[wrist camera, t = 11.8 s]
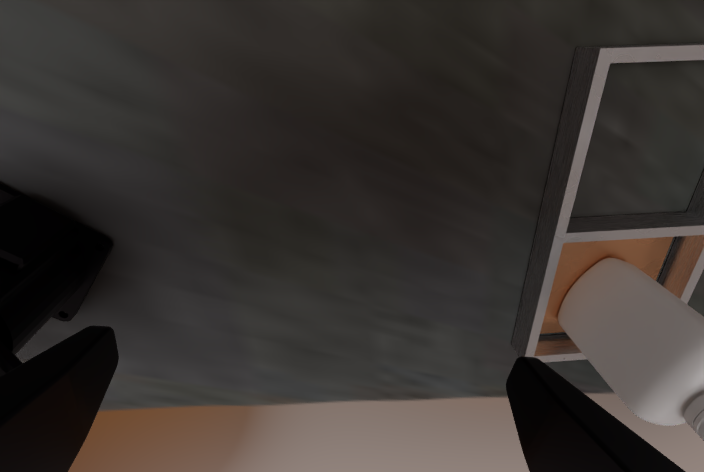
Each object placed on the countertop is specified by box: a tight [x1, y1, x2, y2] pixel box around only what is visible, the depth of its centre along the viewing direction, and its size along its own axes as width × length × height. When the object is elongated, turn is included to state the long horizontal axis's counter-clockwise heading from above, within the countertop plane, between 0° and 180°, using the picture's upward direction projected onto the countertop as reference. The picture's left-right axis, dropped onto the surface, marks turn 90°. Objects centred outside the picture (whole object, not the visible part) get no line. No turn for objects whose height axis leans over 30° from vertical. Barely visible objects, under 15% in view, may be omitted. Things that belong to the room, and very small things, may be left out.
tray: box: [511, 43, 704, 362], centre depth 22 cm, size 19×10×2 cm, turn 2°
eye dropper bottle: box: [558, 258, 704, 440], centre depth 20 cm, size 4×6×12 cm
